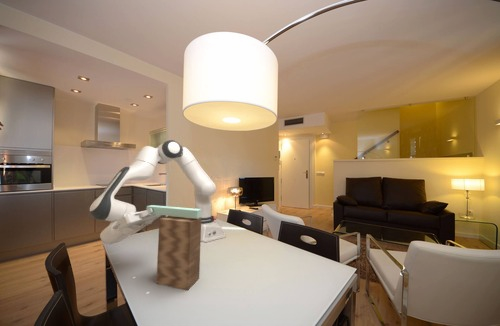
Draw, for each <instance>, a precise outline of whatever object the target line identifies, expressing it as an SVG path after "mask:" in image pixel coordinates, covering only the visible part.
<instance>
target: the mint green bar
mask: <svg viewBox="0 0 500 326" xmlns="http://www.w3.org/2000/svg"><path fill="white" fill-rule="evenodd" d="M150 208H153V209H154V212H153V213H151V214H157V215H161V216H166V217H167V216H177V217H187V218H199V217H201V209H195V208H190V207H182V206H181V207H178V206H169V205H158V204H157V205H154V204H151V205H146V208H145V209H146V210H148V209H150Z"/></svg>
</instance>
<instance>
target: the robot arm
mask: <svg viewBox="0 0 500 326" xmlns="http://www.w3.org/2000/svg"><path fill="white" fill-rule="evenodd" d="M171 161H174V162H175V163H177V165H178V166H179V168H180V169H181V171H182V172H183V173H184V175H185V176H186V178H187V179H188V180H189V181H190V182H191V184H192V185H193V190H194V191H193V192H194V195H193V196H194V209H201V242H204V243H208V242H213V241H216V240H219V239H225V238H226V237H227V236H226V233H225V232H223V228H222V226H221V224H219V223H217V221H216V220H217V218H218V217H216V216H214V215H213V214H212V213H213V203H212V198H211V196H213V195H214V194H215V193H216V191H217V186H216V184H215V182H214V181H213V179H212V178H211V177H210V176H209V175H208V174H207V172H205V170H204V169H203V167H202V166H201V165H200V163H199V162H198V160H197V158H196V157H195V156H194V154H193V153H192V152H191V151H190V150H189V149H188V147H185V146H182V145H181V144H180V143H179V142H177V141H176V140H173V139H171V140H166V141H164V142H163V143H161V144H159V145H158V147H154V146H151V145H145V146H143V147H142V148H141V149H140V150H139V151H138V153H137V154H136V156H134V159H133V161H132V163H130V165H128V166H124V167H123V168H121V169H120V170H119V171H118V172H117V173H116V175H114V177H113V178H112V179H111V181H109V183H108V184H107V186H106V187H105V188H104V190H103V191H102V192H101V193H100V194H99V195H98V196H97V197H96V198H95V200H94V201H93V202H92V203H91V205H90V206H89V209H88V212H89V215H90V216H91V218H92V219H94V220H98V221H99V220H100V221H108V222H110V223H109V225H108V226H107V227H105V228H104V229H103V230H102V231H101V232H100V234H99V238H100V240H101V241H102V242H103V243H104V244H108V245H114V244H118V243H119V242H121V241H124V240H126V239H127V238H128V237H129V236H132V235H134V234H135V233H138V232H139V231H141V230H142V229H144V228H145V227H147V226H149V225H151V224H153V222H154V221H156V220H157V219H158V218H159V219H160V218H161V217H162V215H157V214H151V213H153V212H154V209H153V208H150V209H148V210H142V211H138V210H137V207H136V206H135V205H134V204H132V203H129V202H126V201H121V200H119V199H115V196H116V194H117V193H118V192H119V190H120V189H121V188H122V186H123V185H124V184H125V183H126V182H127V181H138V182H139V181H146V180H148V179H150V178H151V177H152V175H154V172H155V170H156V167H157V164H159V165H160V164H161V165H164V164H168V163H169V162H171Z"/></svg>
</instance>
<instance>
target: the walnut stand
mask: <svg viewBox="0 0 500 326" xmlns="http://www.w3.org/2000/svg"><path fill="white" fill-rule="evenodd" d="M158 221H159V222H158V223H159V225H158V242H157V243H158V245H157V261H156V262H157V263H156V265H157V267H156V280H155V281H156V282H155V283H156V284H157V285H160V286H167V287H171V288H175V289H180V290H184V291H189V290H190V289H191V288H192V287H193V285H195V284H196V283H197V282H198V281H199V279H200V270H201V268H200V267H201V262H200V261H201V243H202V241H201V217H199V218H187V217H177V216H167V215H166V216H164V217H162V218H161V217H160V218H159V219H158Z"/></svg>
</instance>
